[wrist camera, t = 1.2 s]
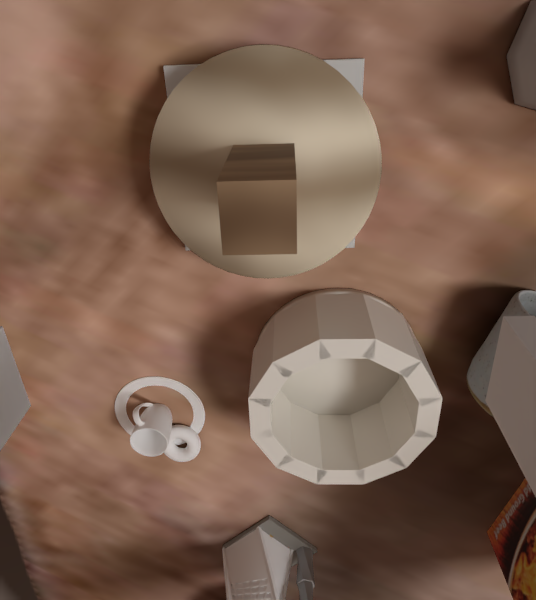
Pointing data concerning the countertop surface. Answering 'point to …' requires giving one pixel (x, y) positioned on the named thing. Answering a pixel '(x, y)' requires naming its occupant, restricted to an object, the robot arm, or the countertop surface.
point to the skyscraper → (267, 563)
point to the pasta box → (517, 543)
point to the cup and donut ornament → (160, 422)
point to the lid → (265, 161)
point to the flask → (524, 60)
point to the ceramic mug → (484, 358)
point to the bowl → (341, 389)
